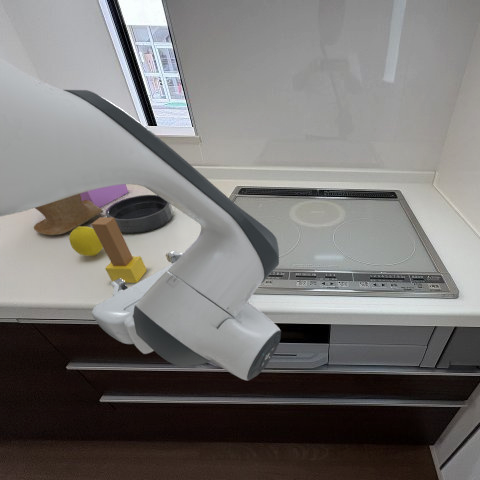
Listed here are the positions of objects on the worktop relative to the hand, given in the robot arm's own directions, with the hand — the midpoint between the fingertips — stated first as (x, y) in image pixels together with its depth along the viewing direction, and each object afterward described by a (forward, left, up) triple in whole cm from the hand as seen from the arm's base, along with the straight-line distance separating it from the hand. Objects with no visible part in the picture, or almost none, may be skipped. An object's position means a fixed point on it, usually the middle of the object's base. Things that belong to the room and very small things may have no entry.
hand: (145, 268), depth 48 cm
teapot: (-41, +44, -8) cm, 61 cm away
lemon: (-21, +13, -8) cm, 26 cm away
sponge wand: (-9, +6, -8) cm, 14 cm away
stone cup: (-35, +27, -8) cm, 45 cm away
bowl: (-18, +30, -8) cm, 36 cm away
